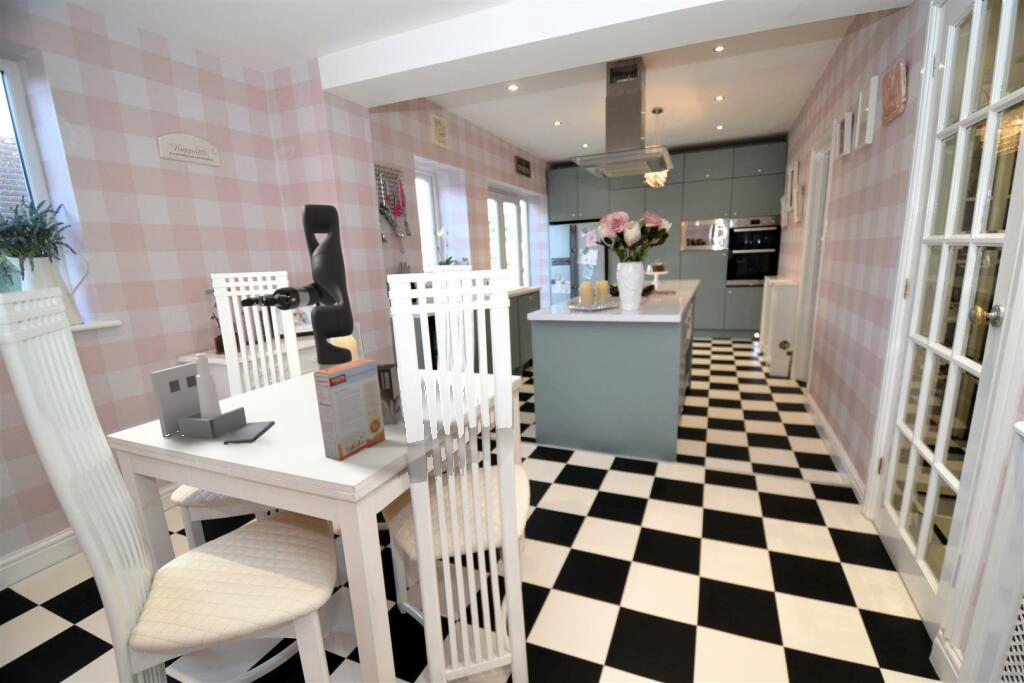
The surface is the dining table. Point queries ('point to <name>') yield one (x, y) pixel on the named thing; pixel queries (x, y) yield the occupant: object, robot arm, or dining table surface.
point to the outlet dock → (188, 405)
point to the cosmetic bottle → (206, 389)
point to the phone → (249, 432)
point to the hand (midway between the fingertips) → (253, 303)
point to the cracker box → (349, 407)
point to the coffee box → (389, 393)
